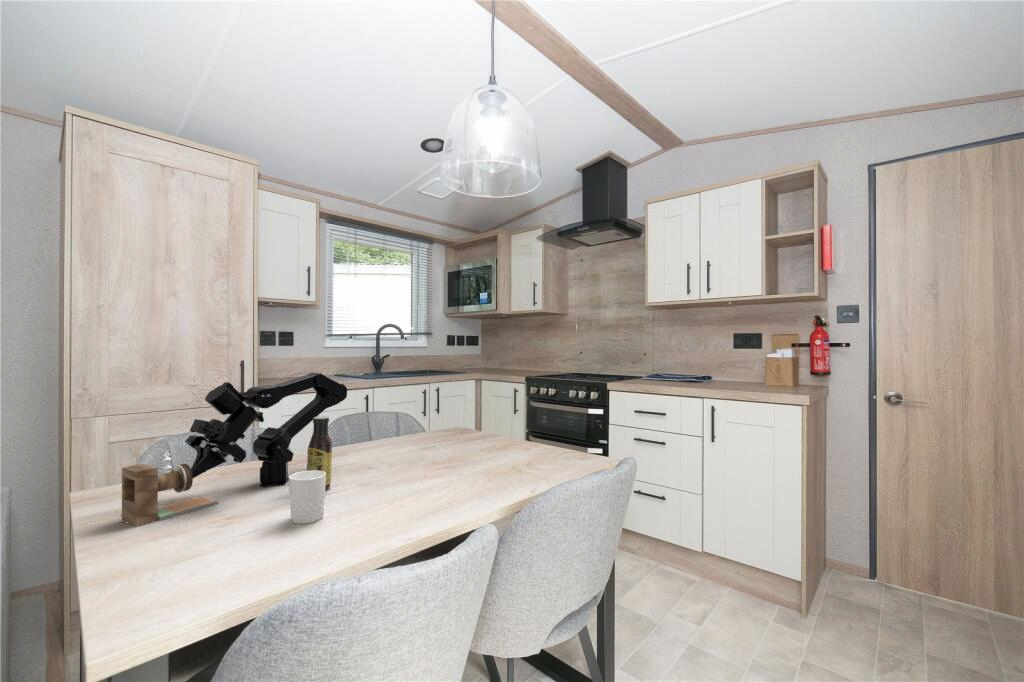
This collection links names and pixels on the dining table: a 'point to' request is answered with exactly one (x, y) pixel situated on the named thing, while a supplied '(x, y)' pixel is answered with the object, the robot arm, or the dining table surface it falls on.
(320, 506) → the white cup
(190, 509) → the board
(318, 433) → the sauce bottle
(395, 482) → the dining table surface
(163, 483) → the peg
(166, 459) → the chess piece
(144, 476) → the block
